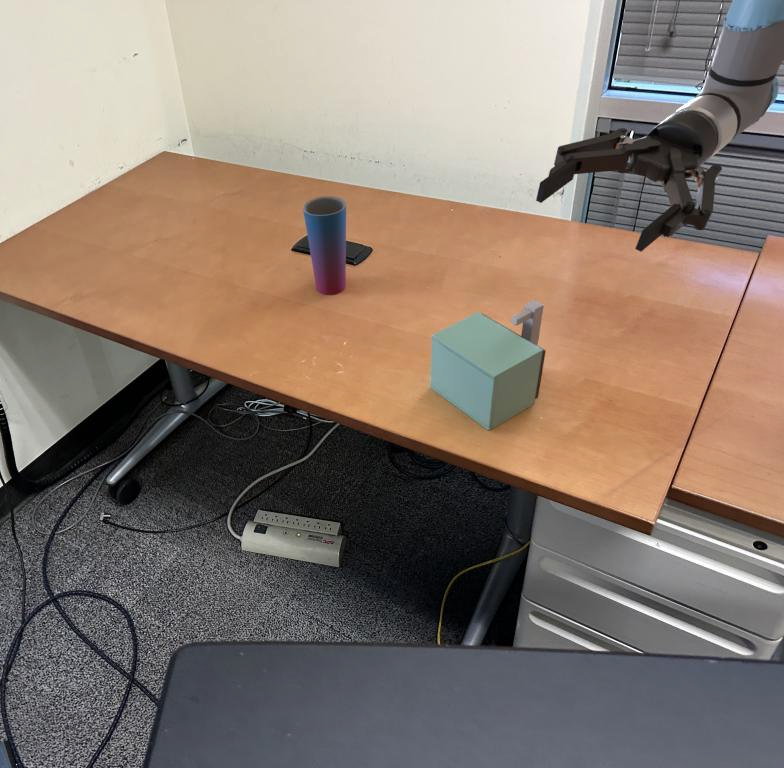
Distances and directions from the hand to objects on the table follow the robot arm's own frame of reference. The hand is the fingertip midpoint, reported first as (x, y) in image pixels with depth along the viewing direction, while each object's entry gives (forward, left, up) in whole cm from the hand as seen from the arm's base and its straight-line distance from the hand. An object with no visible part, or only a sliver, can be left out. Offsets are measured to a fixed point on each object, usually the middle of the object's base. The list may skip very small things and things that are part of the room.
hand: (588, 216), depth 81 cm
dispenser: (-5, +13, -22) cm, 26 cm away
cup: (+27, +29, -22) cm, 45 cm away
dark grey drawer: (-4, +10, -21) cm, 24 cm away
